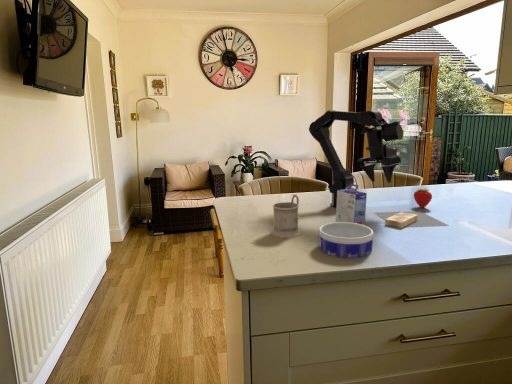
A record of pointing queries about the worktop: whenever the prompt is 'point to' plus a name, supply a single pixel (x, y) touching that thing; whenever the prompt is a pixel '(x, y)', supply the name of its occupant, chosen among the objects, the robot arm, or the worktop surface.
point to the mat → (422, 221)
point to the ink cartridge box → (351, 205)
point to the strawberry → (422, 197)
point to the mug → (286, 219)
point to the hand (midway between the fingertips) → (381, 182)
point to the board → (401, 219)
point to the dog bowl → (345, 239)
